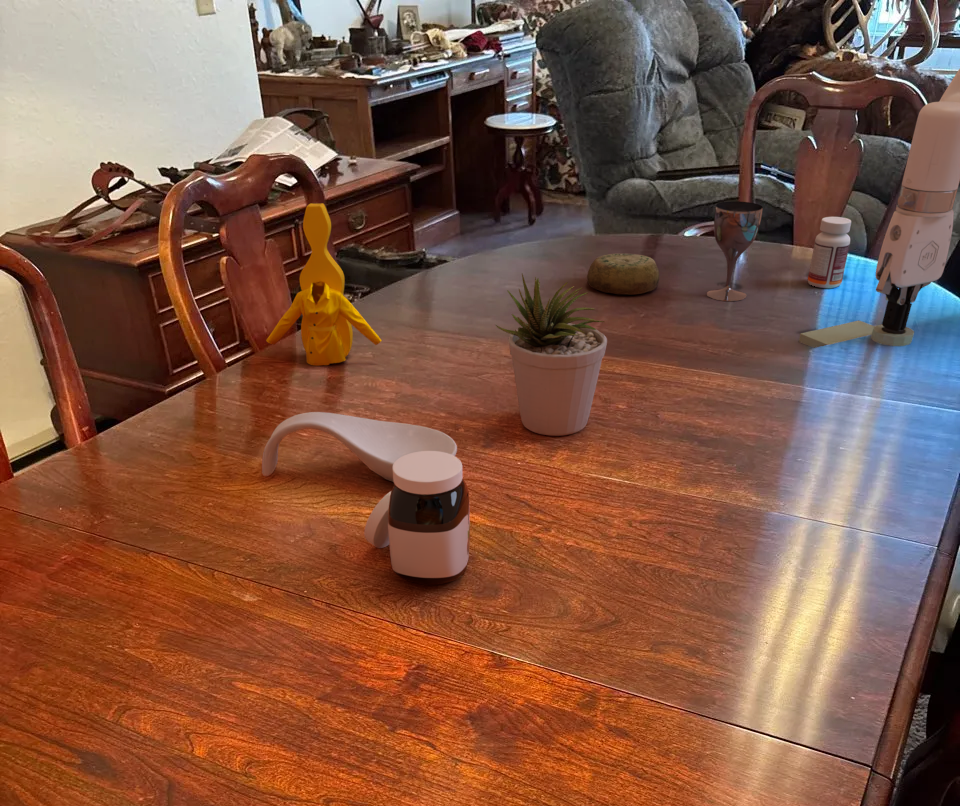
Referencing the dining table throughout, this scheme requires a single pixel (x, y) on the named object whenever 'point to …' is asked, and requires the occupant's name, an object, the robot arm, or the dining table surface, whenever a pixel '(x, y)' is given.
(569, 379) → the potted plant
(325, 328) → the figure statuette
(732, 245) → the wine glass
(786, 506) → the dining table surface
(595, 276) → the cheese wheel
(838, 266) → the pill bottle
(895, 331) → the button
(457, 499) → the spread jar
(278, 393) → the dining table surface
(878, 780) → the dining table surface
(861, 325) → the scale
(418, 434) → the spoon rest
